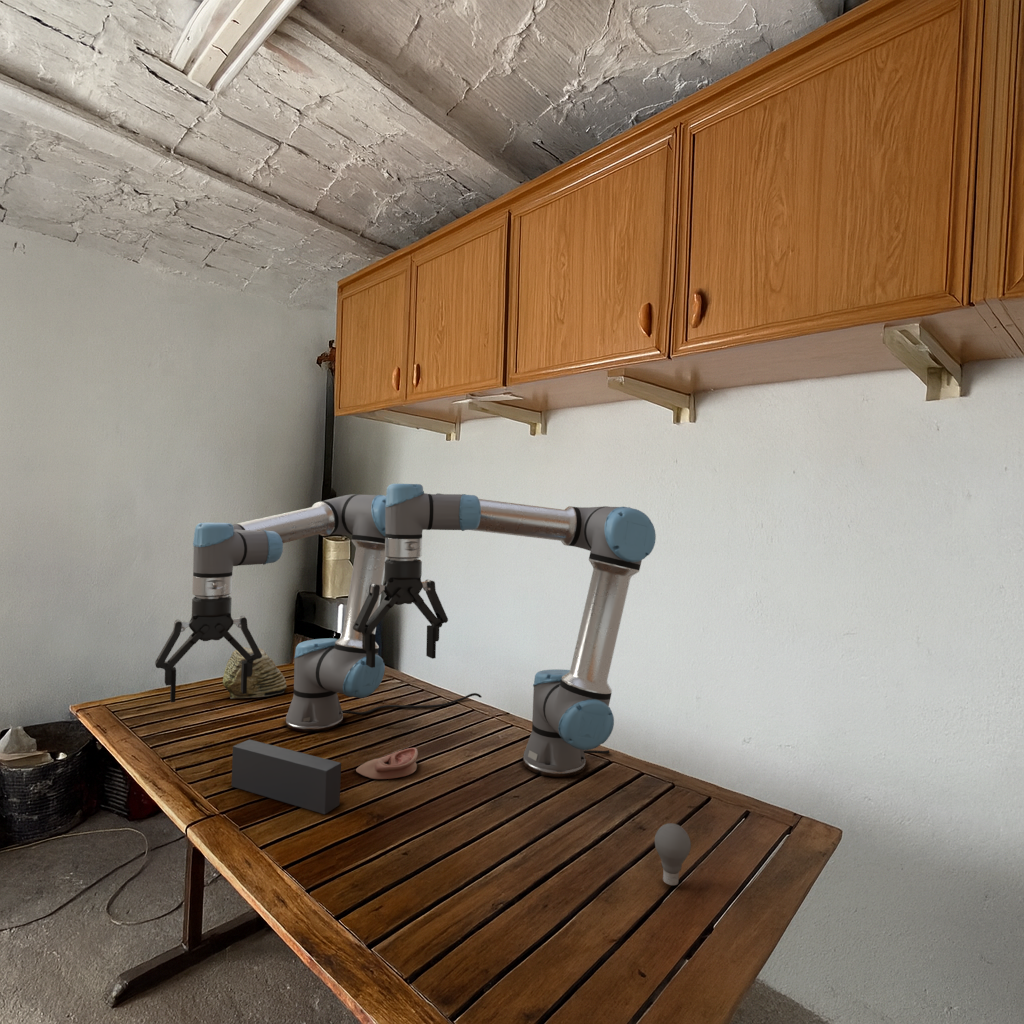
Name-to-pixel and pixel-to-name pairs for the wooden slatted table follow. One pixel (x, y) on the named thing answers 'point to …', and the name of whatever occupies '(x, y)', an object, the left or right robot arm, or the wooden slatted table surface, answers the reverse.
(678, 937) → the wooden slatted table surface
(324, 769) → the bar
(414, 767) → the anatomical model
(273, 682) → the fossil
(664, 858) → the light bulb
